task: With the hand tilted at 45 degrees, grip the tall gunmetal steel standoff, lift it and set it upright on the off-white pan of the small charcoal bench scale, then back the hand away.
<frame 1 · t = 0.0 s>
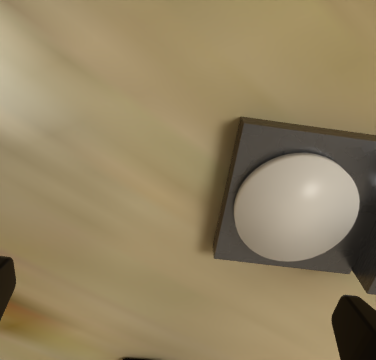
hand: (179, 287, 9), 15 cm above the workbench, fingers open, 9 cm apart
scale: (297, 197, 24), on the workbench
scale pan: (294, 210, 22), point 2 cm above the workbench, slide at 0.8 cm
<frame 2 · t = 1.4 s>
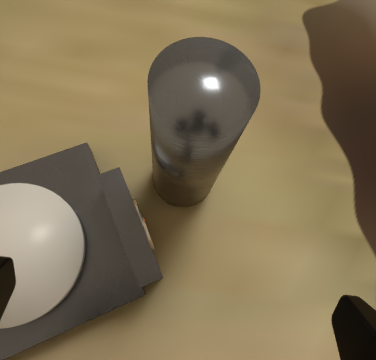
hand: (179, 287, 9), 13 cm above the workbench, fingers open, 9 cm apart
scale: (38, 249, 21), on the workbench
standoff: (183, 177, 24), on the workbench
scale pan: (12, 251, 19), point 2 cm above the workbench, slide at 0.8 cm
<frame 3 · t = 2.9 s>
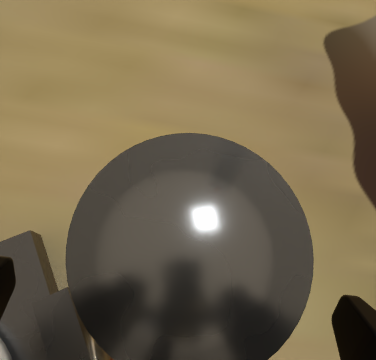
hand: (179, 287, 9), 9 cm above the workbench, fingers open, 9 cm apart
standoff: (169, 271, 17), on the workbench
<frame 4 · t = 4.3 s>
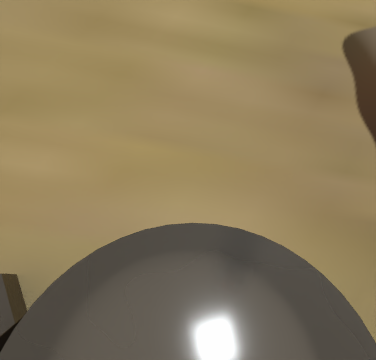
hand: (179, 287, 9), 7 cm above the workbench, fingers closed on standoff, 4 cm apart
standoff: (167, 317, 15), on the workbench, touching gripper
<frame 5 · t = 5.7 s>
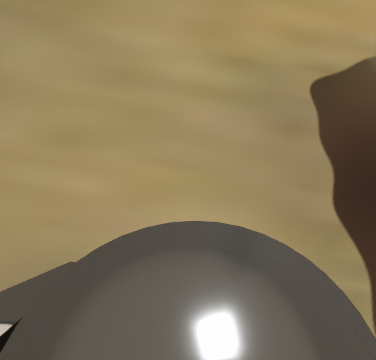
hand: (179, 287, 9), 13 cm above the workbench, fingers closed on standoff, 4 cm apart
standoff: (167, 317, 15), point 7 cm above the workbench, touching gripper
when the fingers open (11 cm above the workbench, at t = 7.4 s): standoff drops 2 cm, resting on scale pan.
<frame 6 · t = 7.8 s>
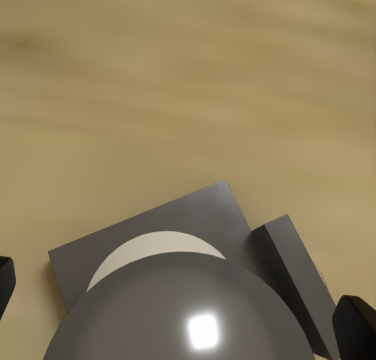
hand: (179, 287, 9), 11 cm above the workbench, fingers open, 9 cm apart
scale: (177, 303, 19), on the workbench
standoff: (167, 316, 16), point 2 cm above the workbench, touching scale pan
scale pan: (165, 312, 17), point 2 cm above the workbench, slide at 0.9 cm, touching standoff
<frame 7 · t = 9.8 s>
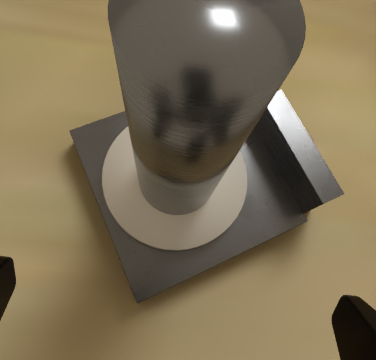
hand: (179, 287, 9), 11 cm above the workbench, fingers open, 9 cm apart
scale: (185, 182, 21), on the workbench
standoff: (177, 177, 18), point 2 cm above the workbench, touching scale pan
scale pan: (175, 177, 19), point 2 cm above the workbench, slide at 0.9 cm, touching standoff
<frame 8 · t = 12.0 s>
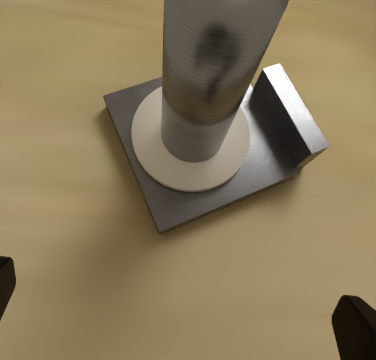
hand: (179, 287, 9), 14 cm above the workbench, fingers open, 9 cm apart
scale: (198, 142, 25), on the workbench
standoff: (192, 133, 23), point 2 cm above the workbench, touching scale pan
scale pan: (191, 134, 23), point 2 cm above the workbench, slide at 0.9 cm, touching standoff
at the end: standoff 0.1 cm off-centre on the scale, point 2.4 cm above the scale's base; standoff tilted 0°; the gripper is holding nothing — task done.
